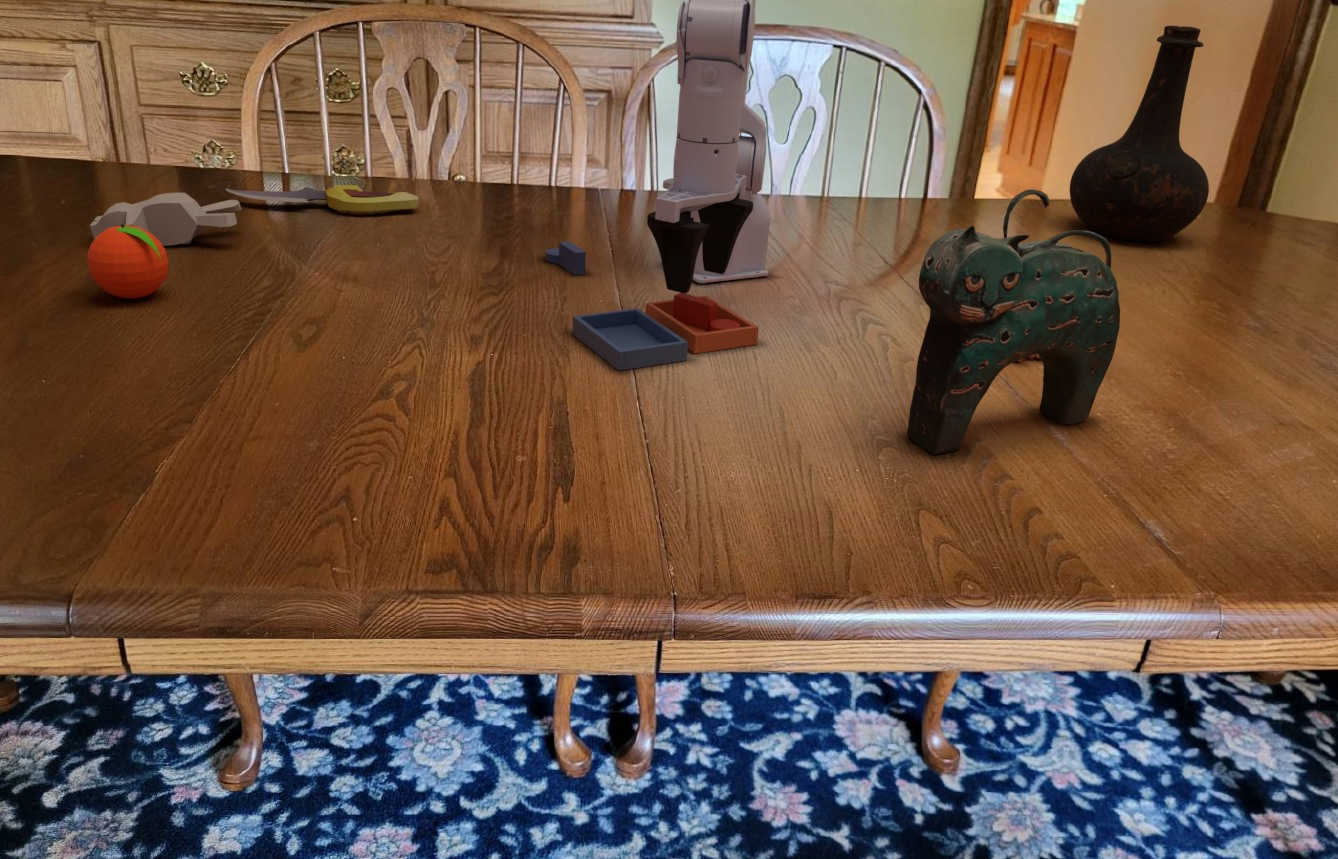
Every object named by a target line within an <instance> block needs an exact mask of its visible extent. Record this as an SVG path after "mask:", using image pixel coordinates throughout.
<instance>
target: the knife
mask: <svg viewBox="0 0 1338 859" xmlns="http://www.w3.org/2000/svg"><path fill="white" fill-rule="evenodd" d="M225 191H226V192H228V193H230V194H234V195H236V196H239V197H243V198H247V199H252V200H253V199H254V200H259V201H260V200H261V201H268V202H269V201H271V202H281V203H282V202H284V203H285V202H286V203H309V202H312V201H326V204H327V206H328V208H330V209H332V210H333V211H336V212H338V213H342V214H347V213H354V214H377V213H378V214H379V213H389V212H390V213H391V212H399V211H400V212H401V211H406V210H407V211H408V210H413V209H416V208H418V206H419V204H420V203H419V196H418V195H416V194H412V193H410V192H406V191H400V192H382V191H381V192H380V191H368V190H367V191H365V190H362V189H361V188H360V187H359V186H358V185H357V184H354V185H353V184H345V185H344V184H342V185H341V184H338V185H334V186H332V187H329V188H327V189H326V190H317V189H314V188H313V187H308V186H305V187H303V188H301V189H298V190H289V191H276V190H275V191H273V190H272V191H270V190H267V191H265V190H264V191H263V190H262V191H261V190H239V189H238V190H237V189H231V188H228V187H226V189H225Z"/></svg>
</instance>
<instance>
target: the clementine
mask: <svg viewBox="0 0 1338 859" xmlns="http://www.w3.org/2000/svg"><path fill="white" fill-rule="evenodd" d="M87 251H88V252H87V268H88V270H89V273H90V277H91V278H92V279H93V281H94V282H95V284H97V285H98V286H99V287H100V288H101V289H102V290H104V291H105V292H106V293H108V294H110V295H112V296H115V297H117V298H121V299H129V300H133V299H134V300H135V299H140V298H143V297H147V296H150V295H151V294H153V293H154V292H156V291H157V290H158V289H159V288H160V287H161V286H162V284H163V283H164V282H165V280H166V278H167V275H168V272H169V258H168V254H167V251H166V249H165V246H163V245H162V244H161V242H160V241H159V240H158V239H157V238H156V237H155V236H154V235H153V234H151V233H149V232H147V231H146V230H144V229H142V228H139V227H136V226H124V225H122V224H121V226H116V227H111V228H108V229H106V230H105V231H103V232H102V233H101V234H99V235H98V236H97V237H96V238H95V239H94V238H93V241H92V242H91V244H90V245H89V248H88V250H87Z"/></svg>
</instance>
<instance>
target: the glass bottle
mask: <svg viewBox="0 0 1338 859" xmlns="http://www.w3.org/2000/svg"><path fill="white" fill-rule="evenodd" d="M1201 31H1202V30H1201V29H1200V28H1198V27H1194V26H1183V25H1182V26H1179V25H1165V26H1164V27H1163V34H1162V35H1160V36H1158V37H1157V38H1156V41H1157V43H1160V46H1159V48H1158V52H1157V55H1156V58H1155V62H1154V65H1153V69H1152V72H1151V74H1150V77H1149V81H1148V83H1147V86H1146V88H1145V91H1144V94H1143V95H1142V96H1143V97H1142V99H1141V101H1140V103H1139V106H1138V108H1137V111H1136V113H1135V114H1134V117H1133V119H1132V121H1131V122H1130V124H1129V126H1128V128H1127V129H1126V130H1125V132H1124V133H1123V135H1122V136H1120V138H1119V139H1117V140H1116V141H1114V142H1111V143H1109V144H1106V145H1103V146H1100V147H1098V148H1096V149H1094V150H1093V151H1090V153H1089V152H1088V154H1087V155H1085V156H1084V157H1083V158H1082V159H1081V160H1080V162H1079V163H1078V164H1077V165H1076V167H1075V169H1074V171H1073V173H1072V175H1071V177H1070V181H1069V199H1070V203H1071V206H1072V208H1073V210H1074V213H1075V214H1076V216H1077V217H1078V219H1079V220H1080V221H1081V222H1082V223H1084V225H1085V226H1087V227H1088V228H1089V229H1091V230H1094V231H1095V232H1098V233H1100V234H1103V235H1106V236H1109V237H1113V238H1117V239H1122V240H1128V241H1135V242H1145V243H1150V242H1151V243H1152V242H1154V243H1155V242H1160V241H1164V240H1167V239H1169V238H1171V237H1174V236H1176V235H1177V234H1179V233H1181V232H1182V231H1184V230H1185V229H1186V228H1187V227H1188V226H1189V225H1191V224H1192V223H1193V222H1194V221H1195V220H1196V219H1197V218H1198V217H1199V215H1200V214H1201V213H1202V211H1203V210H1204V208H1205V206H1206V204H1207V201H1208V198H1209V193H1210V184H1209V179H1208V175H1207V172H1206V171H1205V170H1204V168H1203V167H1202V165H1201V164H1200V163H1199V161H1197V160H1196V159H1195V158H1194V157H1192V156H1191V155H1189V154H1188V153H1187V152H1185V151H1184V150H1183V148H1182V146H1181V142H1180V132H1181V131H1180V130H1181V120H1182V113H1183V108H1184V103H1185V96H1186V91H1187V87H1188V83H1189V77H1190V73H1191V68H1192V64H1193V60H1194V54H1195V50H1196V48H1202V47H1204V43H1203V42H1202V41H1199V40H1198V39H1199V37H1200V34H1201Z"/></svg>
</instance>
